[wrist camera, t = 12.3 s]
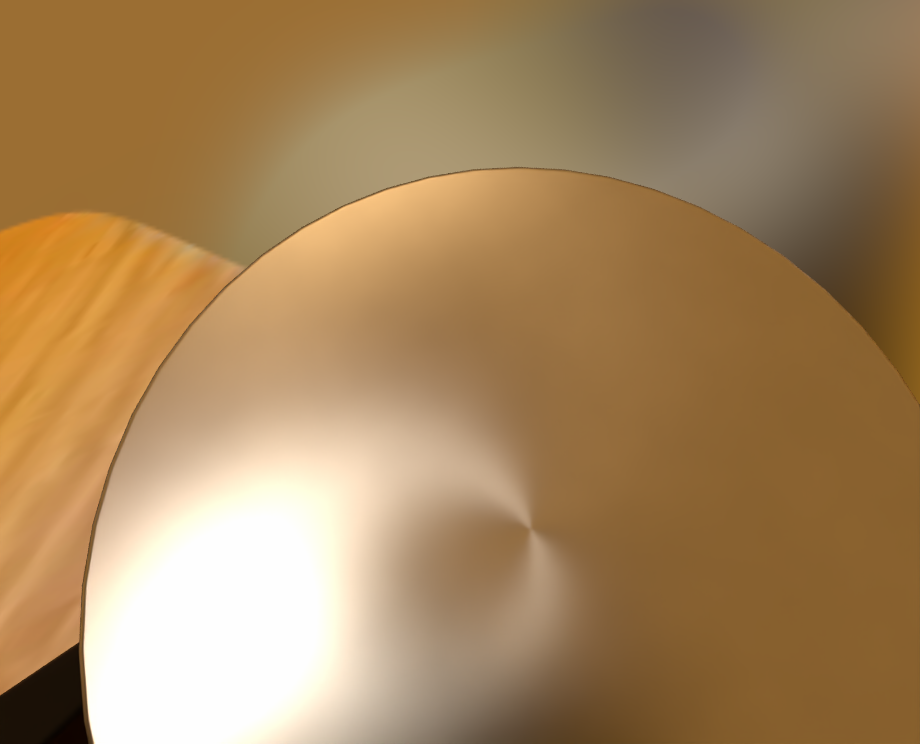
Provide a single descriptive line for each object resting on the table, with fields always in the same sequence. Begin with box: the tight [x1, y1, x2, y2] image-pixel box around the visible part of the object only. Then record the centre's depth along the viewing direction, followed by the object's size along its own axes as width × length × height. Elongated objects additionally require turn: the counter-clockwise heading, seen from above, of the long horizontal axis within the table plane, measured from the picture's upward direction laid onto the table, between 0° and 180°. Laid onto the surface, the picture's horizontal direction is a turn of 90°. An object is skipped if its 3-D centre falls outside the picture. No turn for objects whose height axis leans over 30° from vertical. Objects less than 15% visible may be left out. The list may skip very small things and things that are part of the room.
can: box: [79, 167, 920, 744], centre depth 9 cm, size 7×7×12 cm
